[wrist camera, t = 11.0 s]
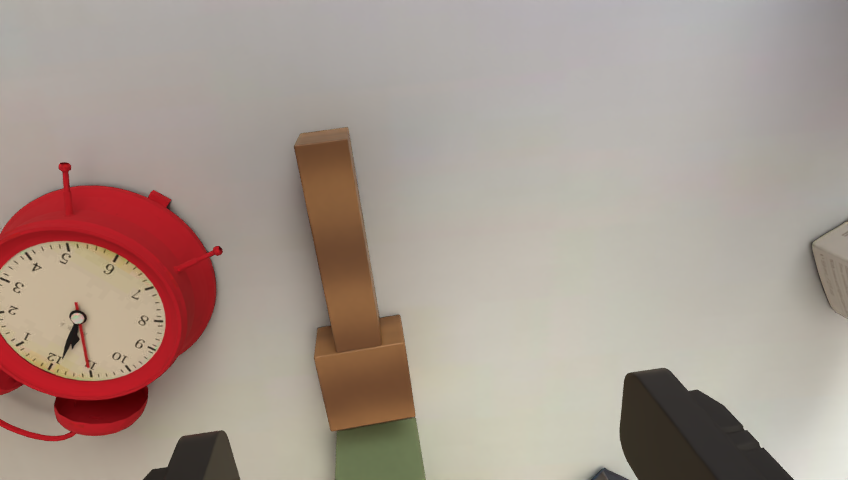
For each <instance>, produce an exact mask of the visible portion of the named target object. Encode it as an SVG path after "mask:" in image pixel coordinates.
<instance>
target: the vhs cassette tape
mask: <svg viewBox="0 0 848 480" xmlns="http://www.w3.org/2000/svg"><path fill="white" fill-rule="evenodd" d="M592 480H628V479H626V478H624V477H622V476H620V475H617V474H615V473H613V472H611V471H608V470H607V469H606V468H603V469H602V470H601V471H600V472H599V473H598V474H597V475H596V476H595V477H594V478H593V479H592Z"/></svg>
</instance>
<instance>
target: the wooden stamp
mask: <svg viewBox="0 0 848 480" xmlns="http://www.w3.org/2000/svg"><path fill="white" fill-rule="evenodd" d="M294 149H295V154H296V159H297V163H298V168H299V173H300V178H301V183H302V188H303V192H304V197H305V202H306V207H307V212H308V217H309V222H310V226H311V231H312V236H313V241H314V246H315V251H316V255H317V260H318V265H319V270H320V275H321V280H322V284H323V289H324V294H325V299H326V304H327V309H328V313H329V318H330V323H331V326H327V327H320V328H318V329H317V336H316V345H315V353H314V360H315V364H316V369H317V373H318V378H319V382H320V386H321V391H322V395H323V400H324V404H325V408H326V413H327V417H328V422H329V426H330V430H331V431H337V430H343V429H348V428H354V427H360V426H365V425H371V424H377V423H382V422H388V421H394V420H399V419H405V418H411V417H415V408H414V402H413V395H412V388H411V381H410V374H409V367H408V361H407V354H406V347H405V340H404V334H403V328H402V322H401V316H400V315H395V316H389V317H382V318H379V311H378V305H377V299H376V293H375V287H374V281H373V275H372V269H371V263H370V257H369V251H368V245H367V238H366V232H365V226H364V220H363V214H362V208H361V202H360V196H359V190H358V184H357V178H356V172H355V166H354V160H353V154H352V147H351V141H350V135H349V129H348V128H347V127H345V128H338V129H330V130H323V131H315V132H308V133H301V134H300V135H299V137H298V139H297V141H296V143H295V145H294Z"/></svg>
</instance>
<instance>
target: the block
mask: <svg viewBox="0 0 848 480" xmlns="http://www.w3.org/2000/svg"><path fill="white" fill-rule="evenodd" d="M335 480H426V478H425V472H424V466H423V460H422V454H421V448H420V442H419V435H418V429H417V423H416V418H411V419H405V420H399V421H394V422H388V423H382V424H376V425H370V426H365V427H359V428H353V429H347V430H342V431H337V440H336V467H335Z"/></svg>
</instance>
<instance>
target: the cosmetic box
mask: <svg viewBox="0 0 848 480" xmlns="http://www.w3.org/2000/svg"><path fill="white" fill-rule="evenodd" d="M812 250H813V254H814V258H815V261H816V265H817V269H818V272H819V276H820V279H821V282H822V285H823V288H824V290H825V293H826V295H827V299H828V301H829V303H830V305H831V307H832V309H833V310H834V311H835V312H836V313H838V314H840V315H842V316H843V317H845V318H847V319H848V221H847V222H845V223H844V224H842V225H840V226H838V227H837V228H835V229H833V230H831V231H830V232H828V233H827V234H825V235H823V236H822V237H820V238H818V239H817V240H815V241H814V242H813V243H812Z"/></svg>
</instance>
